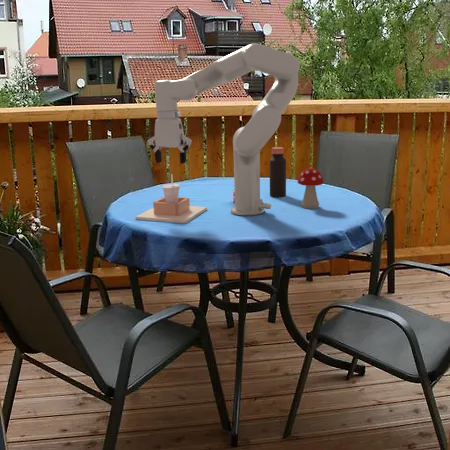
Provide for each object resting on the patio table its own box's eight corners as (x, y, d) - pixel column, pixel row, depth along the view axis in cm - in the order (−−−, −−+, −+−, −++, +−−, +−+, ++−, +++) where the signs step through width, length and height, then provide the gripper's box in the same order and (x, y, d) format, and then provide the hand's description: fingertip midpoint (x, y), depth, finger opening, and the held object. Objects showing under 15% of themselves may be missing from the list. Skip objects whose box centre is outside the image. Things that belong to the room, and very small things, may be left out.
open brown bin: (207, 209, 230) (206, 195, 228) (185, 223, 212) (185, 208, 210) (160, 206, 236) (159, 192, 235) (135, 219, 218) (134, 204, 217)
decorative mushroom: (324, 204, 232) (325, 166, 228) (322, 210, 224) (322, 170, 220) (299, 203, 235) (299, 166, 231) (295, 209, 227) (295, 170, 223)
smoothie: (178, 213, 220) (176, 176, 216) (161, 213, 221) (159, 175, 218) (182, 209, 226) (181, 172, 222) (166, 208, 227) (164, 172, 224)
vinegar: (288, 196, 247) (289, 148, 241) (274, 198, 245) (274, 149, 239) (281, 193, 253) (281, 146, 248) (266, 195, 251) (266, 147, 245)
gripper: (193, 114, 214) (196, 161, 219) (150, 114, 220) (154, 160, 225) (185, 116, 208) (188, 165, 212) (140, 116, 214) (145, 164, 218)
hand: (170, 162), depth 219 cm, fingers open, 9 cm apart
